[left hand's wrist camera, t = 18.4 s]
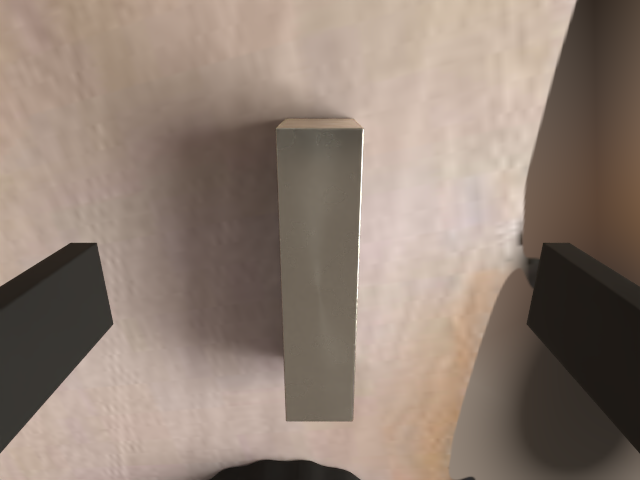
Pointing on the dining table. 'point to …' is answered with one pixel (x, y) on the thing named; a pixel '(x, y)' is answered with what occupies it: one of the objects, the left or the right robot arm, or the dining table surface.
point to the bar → (319, 263)
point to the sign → (284, 472)
